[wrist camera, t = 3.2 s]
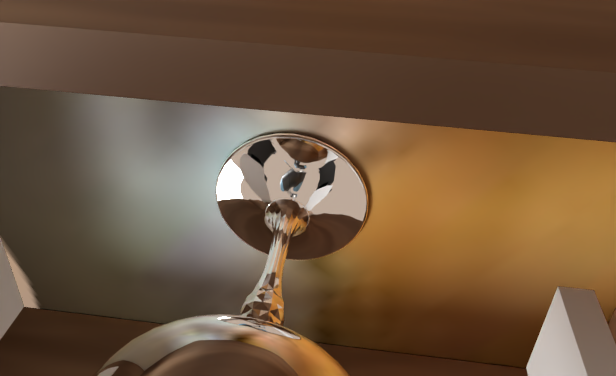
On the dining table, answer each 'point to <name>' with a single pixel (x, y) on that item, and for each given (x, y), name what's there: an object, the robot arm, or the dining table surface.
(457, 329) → the dining table surface
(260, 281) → the wineglass
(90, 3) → the rectangular wooden frame
